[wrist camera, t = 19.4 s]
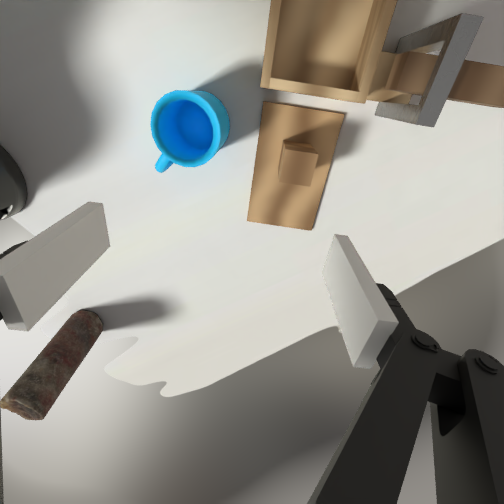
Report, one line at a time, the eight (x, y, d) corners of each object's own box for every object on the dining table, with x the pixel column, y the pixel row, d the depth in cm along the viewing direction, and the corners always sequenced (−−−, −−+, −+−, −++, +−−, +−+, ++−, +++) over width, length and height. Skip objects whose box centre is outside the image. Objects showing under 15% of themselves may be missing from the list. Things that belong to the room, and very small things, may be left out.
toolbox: (261, 87, 35) (260, 86, 30) (290, -132, 25) (295, -188, 20) (402, 109, 35) (425, 113, 30) (482, -98, 26) (534, -145, 21)
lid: (247, 218, 45) (243, 241, 38) (263, 101, 36) (262, 103, 29) (310, 228, 45) (317, 252, 39) (342, 113, 36) (359, 119, 29)
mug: (197, 75, 35) (179, 71, 28) (241, 124, 37) (235, 132, 30) (146, 143, 39) (120, 154, 32) (189, 182, 42) (173, 200, 35)
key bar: (384, 89, 28) (396, 89, 26) (396, 54, 27) (409, 51, 24) (494, 107, 28) (516, 108, 26) (511, 73, 27) (537, 71, 24)
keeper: (374, 115, 36) (415, 124, 26) (400, 38, 31) (462, 13, 21) (387, 117, 36) (433, 127, 26) (415, 40, 31) (483, 16, 21)
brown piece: (111, 332, 62) (50, 424, 45) (83, 334, 63) (13, 425, 46) (96, 307, 58) (23, 398, 41) (66, 310, 59) (-17, 400, 42)
